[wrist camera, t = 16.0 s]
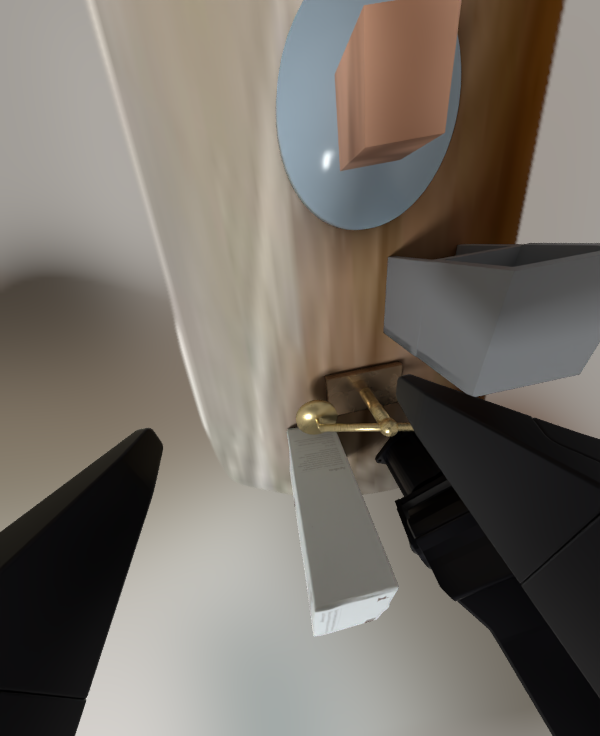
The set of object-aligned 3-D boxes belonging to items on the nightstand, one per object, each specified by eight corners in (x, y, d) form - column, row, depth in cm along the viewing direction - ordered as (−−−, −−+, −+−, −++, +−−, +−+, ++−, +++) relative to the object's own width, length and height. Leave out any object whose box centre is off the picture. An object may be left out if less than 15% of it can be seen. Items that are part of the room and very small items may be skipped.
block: (405, 62, 12) (462, -11, 8) (400, 159, 14) (444, 132, 11) (334, 74, 12) (363, 5, 8) (340, 171, 14) (365, 147, 10)
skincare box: (286, 427, 26) (308, 612, 13) (336, 421, 26) (404, 590, 13) (289, 472, 30) (309, 644, 17) (332, 465, 30) (382, 627, 18)
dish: (388, 253, 18) (394, 254, 17) (254, 187, 14) (253, 184, 14) (485, 58, 13) (500, 45, 12) (319, -104, 10) (324, -137, 9)
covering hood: (496, 339, 17) (579, 374, 13) (416, 356, 17) (472, 397, 12) (530, 243, 14) (660, 243, 9) (429, 261, 13) (514, 270, 9)
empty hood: (447, 320, 21) (496, 340, 17) (383, 332, 21) (415, 356, 17) (464, 243, 18) (530, 244, 14) (388, 257, 18) (429, 262, 13)
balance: (432, 354, 23) (501, 400, 16) (425, 391, 26) (482, 444, 19) (289, 383, 22) (299, 444, 16) (296, 418, 25) (308, 483, 18)
